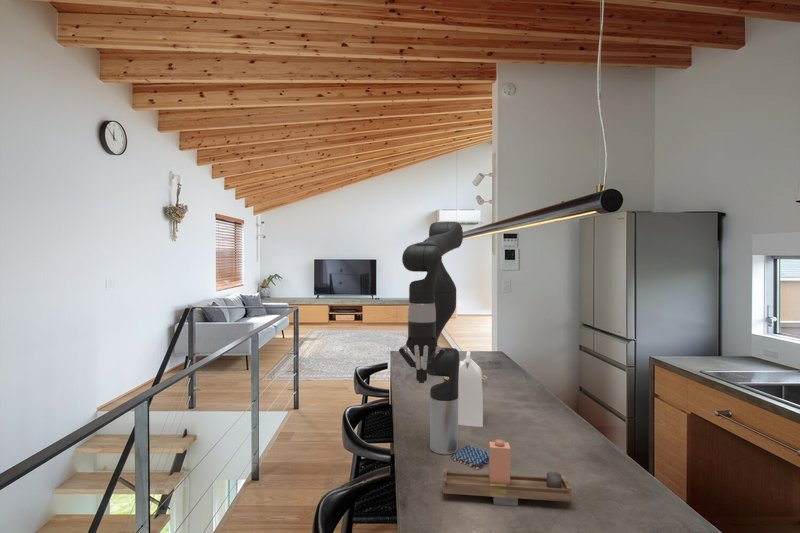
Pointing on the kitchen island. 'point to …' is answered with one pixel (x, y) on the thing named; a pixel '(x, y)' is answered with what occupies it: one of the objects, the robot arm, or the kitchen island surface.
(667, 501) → the kitchen island surface
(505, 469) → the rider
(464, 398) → the milk
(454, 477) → the beam
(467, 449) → the woven mat
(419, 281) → the robot arm
